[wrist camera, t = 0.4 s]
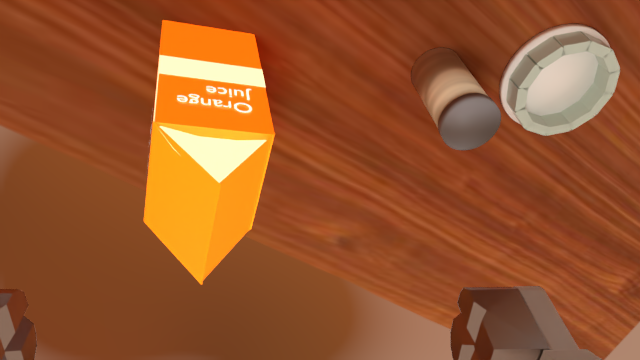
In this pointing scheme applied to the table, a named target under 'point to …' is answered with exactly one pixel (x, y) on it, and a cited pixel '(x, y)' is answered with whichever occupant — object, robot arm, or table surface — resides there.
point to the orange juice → (206, 143)
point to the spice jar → (455, 99)
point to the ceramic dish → (559, 79)
